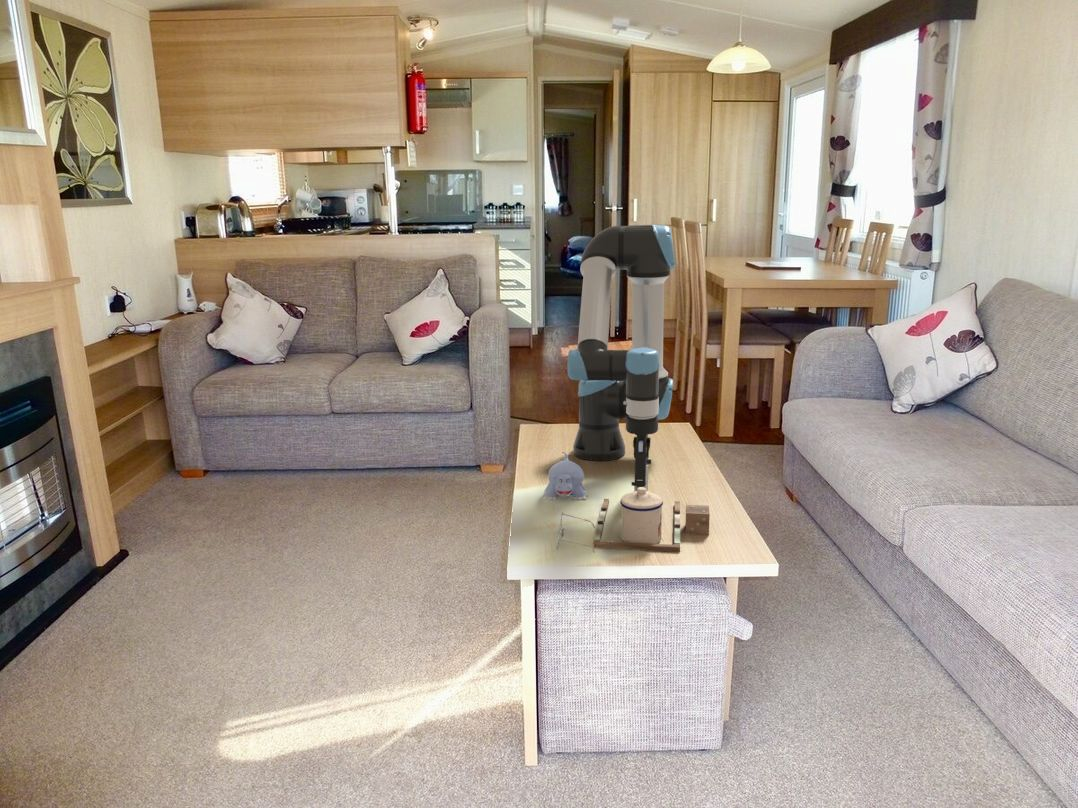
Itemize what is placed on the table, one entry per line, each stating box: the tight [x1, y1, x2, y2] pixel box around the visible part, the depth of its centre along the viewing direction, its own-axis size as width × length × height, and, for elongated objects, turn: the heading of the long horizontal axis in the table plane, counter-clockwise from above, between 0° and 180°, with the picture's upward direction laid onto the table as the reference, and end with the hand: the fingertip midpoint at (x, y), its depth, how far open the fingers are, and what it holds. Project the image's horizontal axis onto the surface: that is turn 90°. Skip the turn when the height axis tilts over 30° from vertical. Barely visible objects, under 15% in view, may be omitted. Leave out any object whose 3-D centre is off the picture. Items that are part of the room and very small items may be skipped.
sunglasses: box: [556, 511, 596, 553], centre depth 173 cm, size 14×8×5 cm, turn 176°
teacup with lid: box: [619, 487, 664, 544], centre depth 173 cm, size 12×9×12 cm
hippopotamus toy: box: [543, 451, 588, 501], centre depth 197 cm, size 11×15×10 cm
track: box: [592, 498, 681, 553], centre depth 180 cm, size 26×18×2 cm
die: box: [685, 504, 711, 536], centre depth 176 cm, size 5×5×5 cm
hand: (641, 500), depth 191 cm, fingers open, 13 cm apart
